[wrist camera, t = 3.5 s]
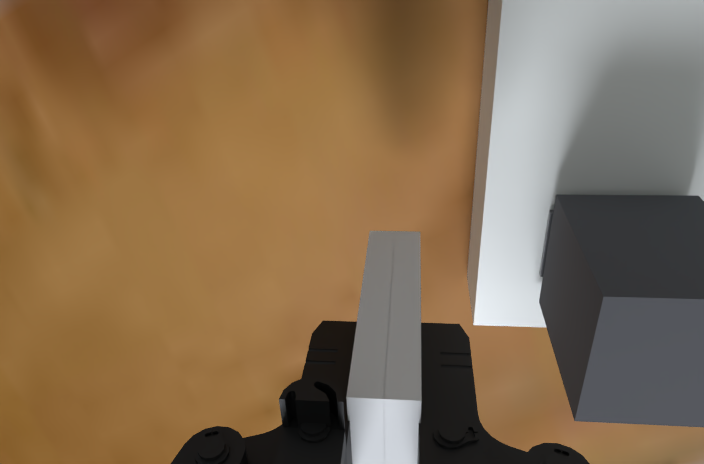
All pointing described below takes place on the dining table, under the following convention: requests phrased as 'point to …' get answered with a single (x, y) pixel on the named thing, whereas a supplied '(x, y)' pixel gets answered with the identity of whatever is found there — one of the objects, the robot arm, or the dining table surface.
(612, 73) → the panel
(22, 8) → the dining table surface
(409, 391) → the robot arm
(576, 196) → the slider knob
